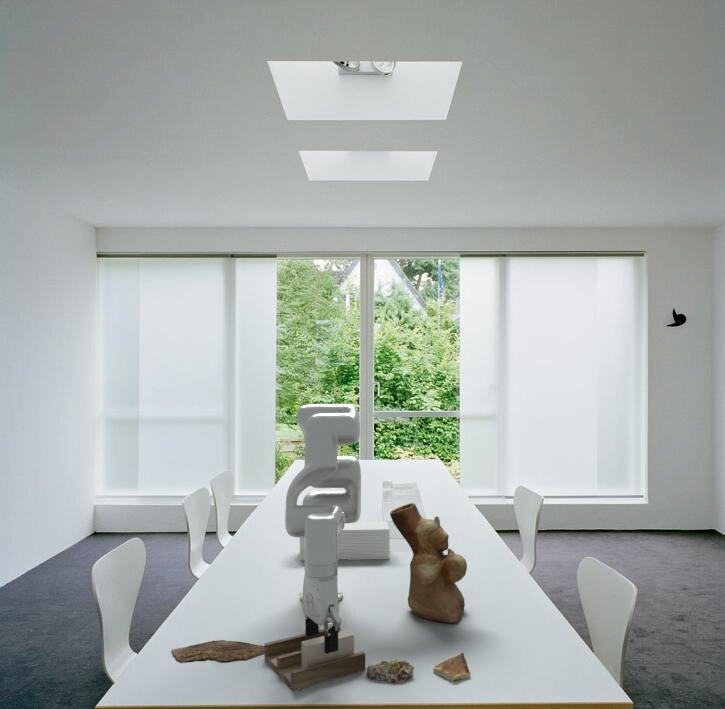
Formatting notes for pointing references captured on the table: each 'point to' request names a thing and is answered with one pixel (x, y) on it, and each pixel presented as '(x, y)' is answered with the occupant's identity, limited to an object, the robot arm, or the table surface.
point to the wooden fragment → (218, 651)
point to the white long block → (360, 541)
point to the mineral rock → (390, 671)
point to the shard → (453, 668)
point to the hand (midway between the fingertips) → (321, 643)
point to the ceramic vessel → (431, 567)
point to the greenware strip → (315, 649)
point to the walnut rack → (288, 666)
